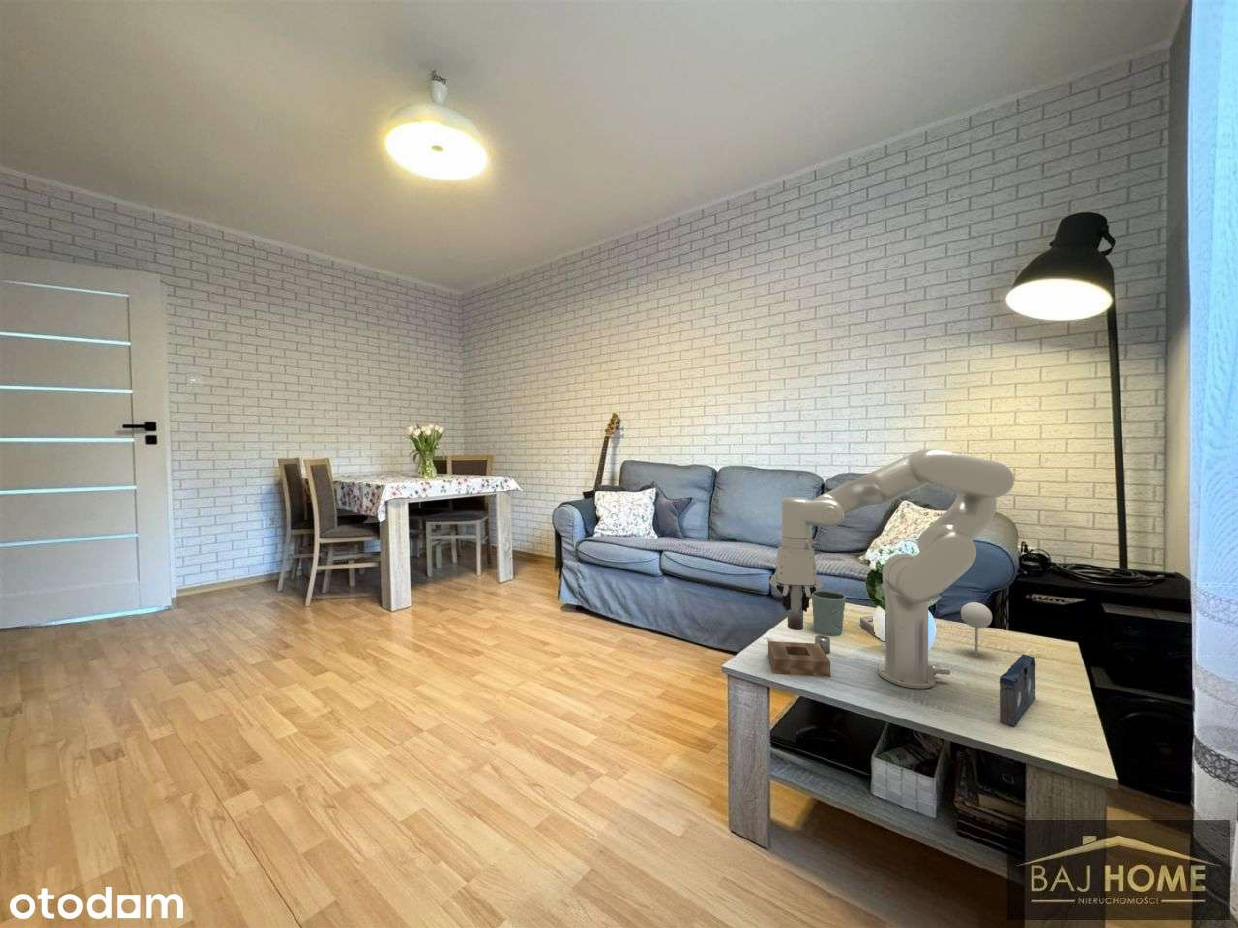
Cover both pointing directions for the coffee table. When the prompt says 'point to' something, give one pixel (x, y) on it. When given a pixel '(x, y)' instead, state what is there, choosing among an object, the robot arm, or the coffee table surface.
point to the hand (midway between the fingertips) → (795, 609)
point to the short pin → (823, 643)
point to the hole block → (798, 659)
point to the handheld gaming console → (867, 624)
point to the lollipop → (976, 618)
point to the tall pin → (795, 607)
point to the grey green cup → (828, 612)
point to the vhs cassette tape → (1017, 690)
